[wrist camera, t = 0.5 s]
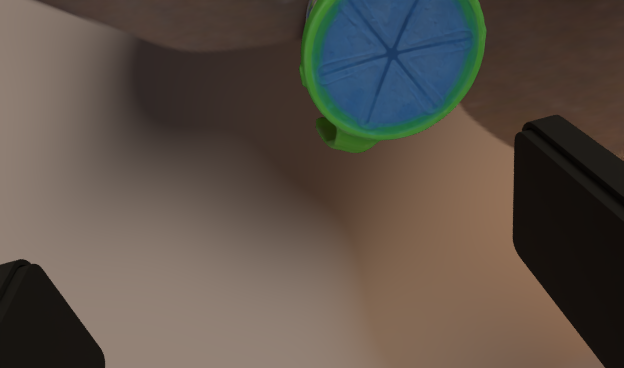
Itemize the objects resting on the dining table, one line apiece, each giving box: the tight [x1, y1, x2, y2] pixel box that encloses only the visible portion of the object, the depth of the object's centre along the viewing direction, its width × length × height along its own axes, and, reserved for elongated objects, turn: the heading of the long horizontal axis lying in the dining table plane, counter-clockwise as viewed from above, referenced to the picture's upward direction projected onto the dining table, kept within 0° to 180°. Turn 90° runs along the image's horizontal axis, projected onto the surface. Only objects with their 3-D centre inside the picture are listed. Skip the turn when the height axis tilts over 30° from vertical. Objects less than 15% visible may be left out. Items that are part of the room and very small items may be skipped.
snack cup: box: [299, 0, 486, 153], centre depth 31 cm, size 16×10×10 cm
